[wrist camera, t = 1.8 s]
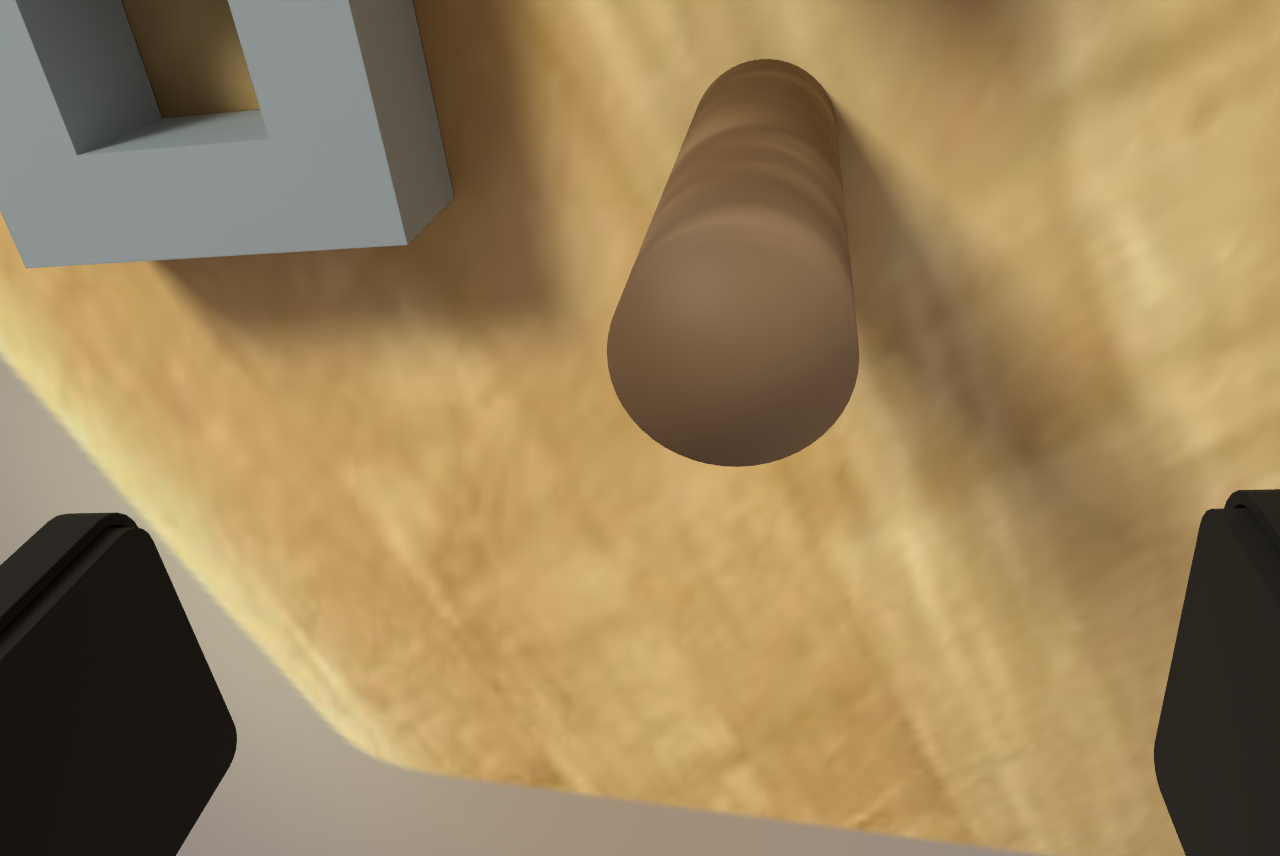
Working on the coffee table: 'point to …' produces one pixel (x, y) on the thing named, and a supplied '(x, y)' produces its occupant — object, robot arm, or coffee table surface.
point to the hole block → (216, 137)
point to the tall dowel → (743, 279)
